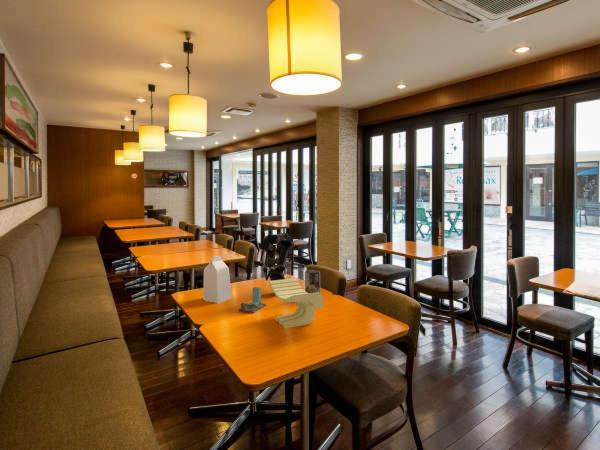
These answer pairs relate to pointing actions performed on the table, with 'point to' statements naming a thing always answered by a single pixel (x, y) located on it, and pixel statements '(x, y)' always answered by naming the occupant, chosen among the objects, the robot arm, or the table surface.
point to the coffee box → (312, 281)
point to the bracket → (253, 308)
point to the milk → (216, 281)
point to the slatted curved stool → (294, 293)
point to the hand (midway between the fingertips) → (266, 280)
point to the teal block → (256, 296)
